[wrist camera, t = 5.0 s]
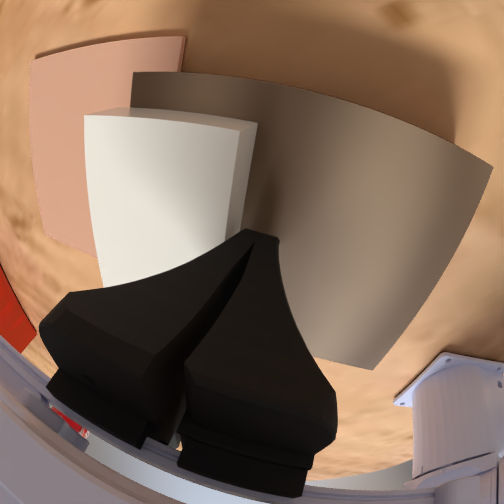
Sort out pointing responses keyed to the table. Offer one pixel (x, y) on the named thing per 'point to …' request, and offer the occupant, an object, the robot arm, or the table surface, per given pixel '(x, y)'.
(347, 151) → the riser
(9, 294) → the file binder
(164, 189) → the tile
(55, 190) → the mat
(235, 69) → the table surface
